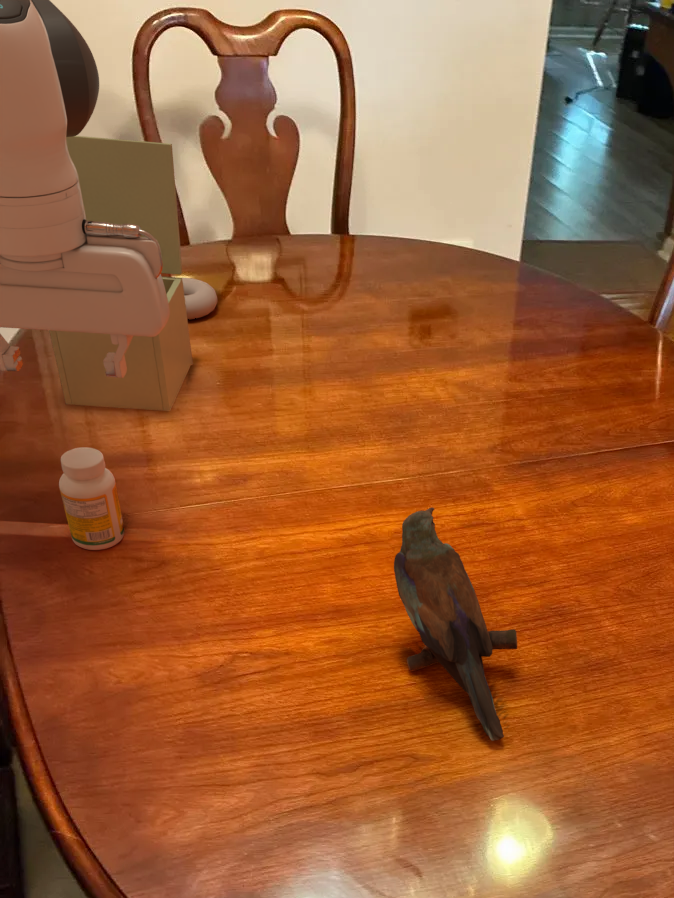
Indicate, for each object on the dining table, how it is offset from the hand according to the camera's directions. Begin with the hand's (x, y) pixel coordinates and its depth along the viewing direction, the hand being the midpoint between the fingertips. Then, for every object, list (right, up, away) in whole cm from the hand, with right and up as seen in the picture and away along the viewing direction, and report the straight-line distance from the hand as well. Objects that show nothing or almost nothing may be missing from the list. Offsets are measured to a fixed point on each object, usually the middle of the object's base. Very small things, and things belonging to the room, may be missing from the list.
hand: (65, 371), depth 88 cm
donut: (-6, +24, +54) cm, 60 cm away
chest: (-6, +7, +35) cm, 36 cm away
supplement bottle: (-2, -14, +13) cm, 19 cm away
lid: (-5, +27, +27) cm, 39 cm away
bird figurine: (+36, -27, +3) cm, 46 cm away
